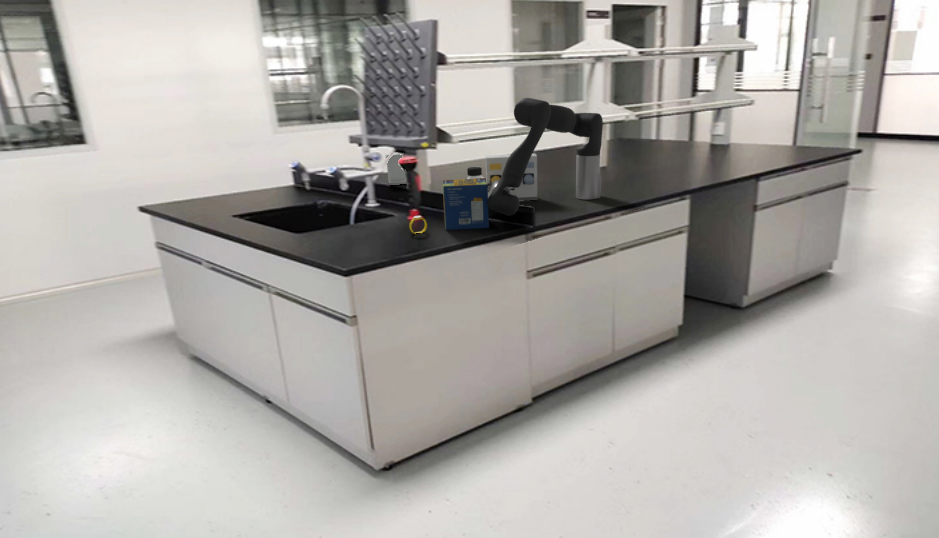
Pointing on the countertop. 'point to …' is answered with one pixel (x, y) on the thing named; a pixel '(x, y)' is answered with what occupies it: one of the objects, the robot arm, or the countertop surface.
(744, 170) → the countertop surface
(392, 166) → the grey shouldered block
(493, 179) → the amber button
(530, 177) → the blue button
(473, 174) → the medicine bottle
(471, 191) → the protein box
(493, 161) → the panel
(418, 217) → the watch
